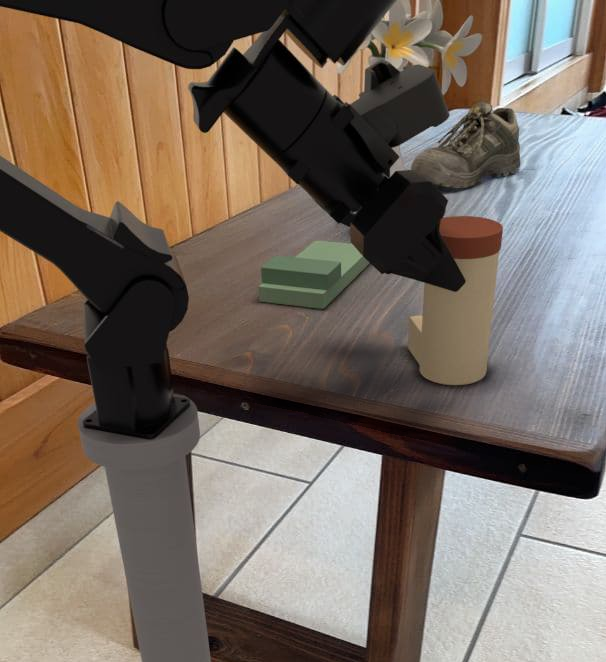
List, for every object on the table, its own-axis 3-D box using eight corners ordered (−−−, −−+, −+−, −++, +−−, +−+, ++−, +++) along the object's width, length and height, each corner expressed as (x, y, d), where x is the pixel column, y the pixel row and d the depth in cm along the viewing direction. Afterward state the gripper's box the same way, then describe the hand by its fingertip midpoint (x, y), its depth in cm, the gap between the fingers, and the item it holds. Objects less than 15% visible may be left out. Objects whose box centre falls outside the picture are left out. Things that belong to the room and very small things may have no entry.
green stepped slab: (324, 309, 85) (324, 277, 83) (258, 301, 87) (256, 270, 85) (374, 259, 96) (374, 231, 95) (315, 254, 99) (314, 225, 97)
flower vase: (444, 255, 97) (462, -4, 82) (299, 238, 104) (292, -5, 89) (477, 224, 106) (499, -13, 92) (342, 210, 113) (342, -13, 99)
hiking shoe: (385, 169, 122) (427, 91, 113) (475, 161, 134) (518, 90, 125) (424, 213, 119) (469, 137, 110) (511, 200, 132) (559, 131, 123)
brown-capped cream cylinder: (497, 382, 70) (514, 234, 63) (429, 389, 70) (439, 240, 62) (464, 342, 77) (476, 204, 70) (402, 348, 76) (408, 210, 69)
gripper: (424, 35, 49) (573, 217, 57) (343, 11, 63) (471, 158, 72) (294, 192, 52) (453, 342, 60) (246, 134, 67) (379, 261, 75)
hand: (439, 267), depth 67 cm, fingers open, 9 cm apart
